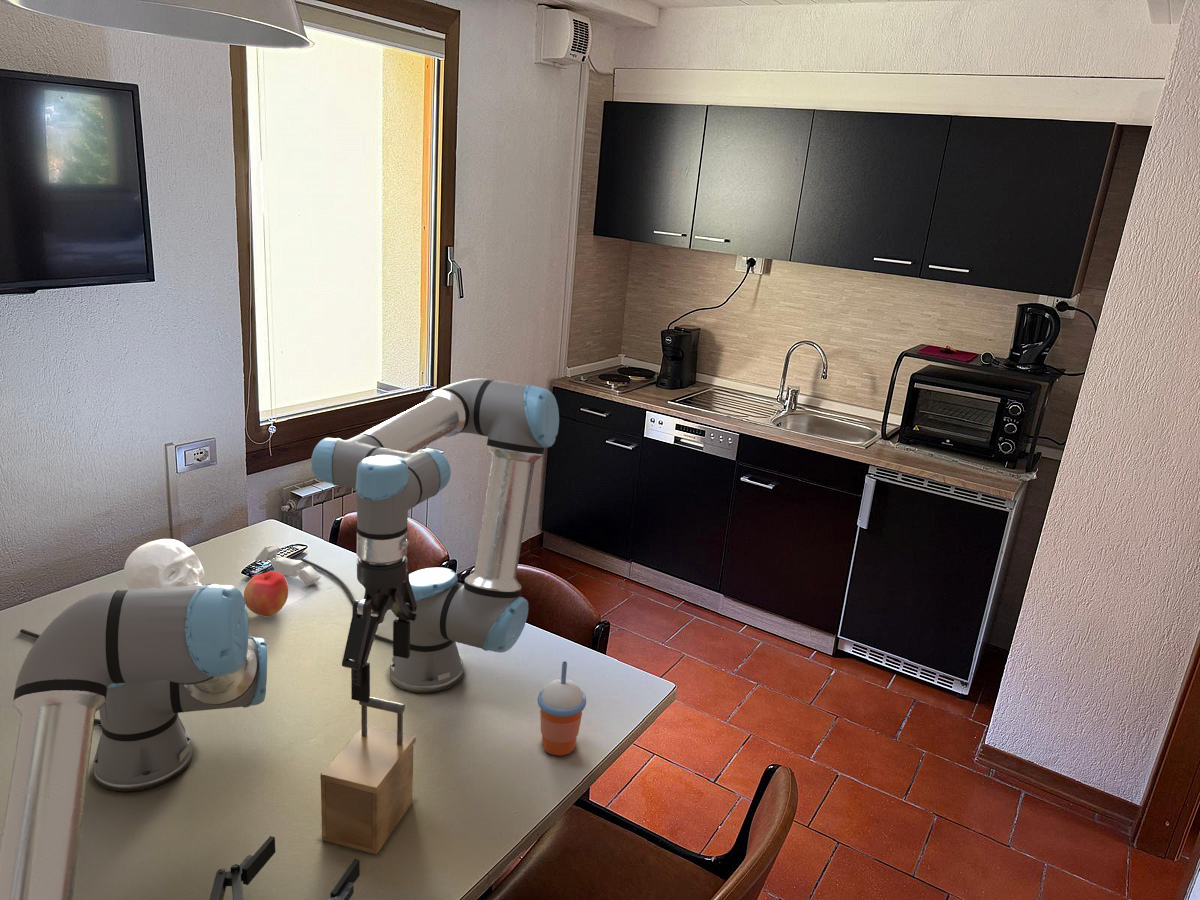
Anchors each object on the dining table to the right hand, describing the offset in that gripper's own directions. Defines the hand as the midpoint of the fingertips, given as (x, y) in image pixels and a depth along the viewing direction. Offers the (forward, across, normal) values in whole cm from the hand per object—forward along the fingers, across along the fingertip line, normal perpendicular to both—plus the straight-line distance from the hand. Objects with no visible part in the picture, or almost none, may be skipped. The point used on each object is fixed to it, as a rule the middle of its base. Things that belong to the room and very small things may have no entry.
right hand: (381, 677), depth 137 cm
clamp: (+24, +68, +62) cm, 95 cm away
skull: (+24, +44, +77) cm, 92 cm away
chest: (+24, -4, 0) cm, 25 cm away
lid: (+13, -4, 0) cm, 14 cm away
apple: (+24, +48, +55) cm, 77 cm away
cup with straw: (+24, +25, -24) cm, 42 cm away
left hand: (+18, -20, 0) cm, 27 cm away
